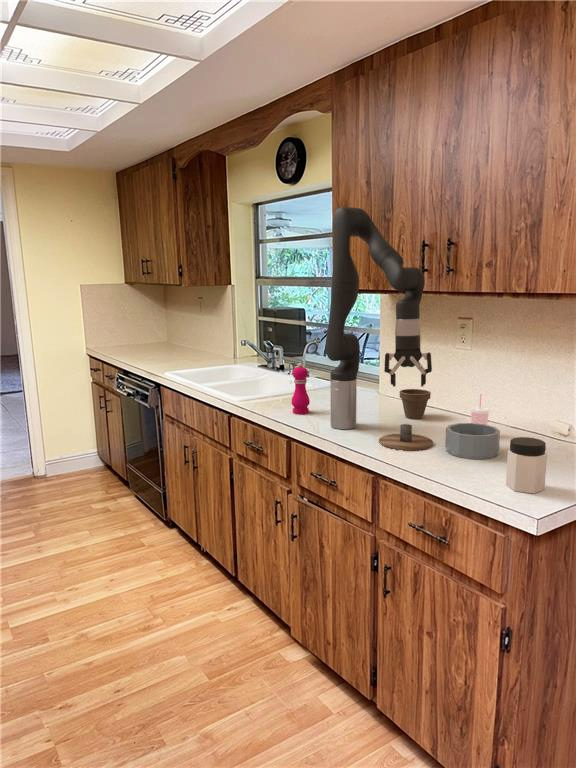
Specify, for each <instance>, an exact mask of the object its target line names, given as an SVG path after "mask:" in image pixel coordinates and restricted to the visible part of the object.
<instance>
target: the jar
mask: <svg viewBox="0 0 576 768" xmlns="http://www.w3.org/2000/svg"><path fill="white" fill-rule="evenodd" d="M509 440H510V441H509V449H508V450H507V461H506V479H505V485H506V486H507V487H509V489H511V490H512V491H513V492H517V493H518V492H519V493H525V494H536V493H539V492H542V491H545V488H546V487H545V486H546V473H547V459H548V453H546V449H547V448H546V447H547V445H546V442H545V441H544V440H542V439H539V438H535V437H527V436H517V437H513V438H511V439H509Z"/></svg>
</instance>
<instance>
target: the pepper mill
mask: <svg viewBox="0 0 576 768" xmlns="http://www.w3.org/2000/svg"><path fill="white" fill-rule="evenodd" d="M308 374H309V372H308V369H307V368H305V366H303V363H301V362H299V363H298V364H297V367H294V368H293V370H292V377H293V378H294V379H293V383H294V392H293V394H292V397H291V405H292V406H293V408H292V414H294V415H307V414H309V409H310V408H309V407H308V406H309V405H310V403H311V399H310V397H309V394H308V392H307V388H306V386H307V385H306V383H307V377H308V376H309V375H308Z"/></svg>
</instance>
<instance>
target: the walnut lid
mask: <svg viewBox="0 0 576 768" xmlns="http://www.w3.org/2000/svg"><path fill="white" fill-rule="evenodd" d="M399 426H400V427H399V428H400V429H399V430H400V431H399V433H390V434H386V435H383V436H380V437H379V439H378V444H379V443H380V444H381V445H382V446H381V445H380V444H379V445H380V446H381V447H383V446H384V447H383V448H385V447H386V448H385V449H388V448H390V449H389V450H392V449H395V450H394V451H399V450H403V451H402V452H419V450H421V451H425V449H426V450H428V448H429V449H431V448H433V446H434V441H433V440H432V439H431V438H430V437H428V436H424V435H420V434H416V433H415V434H414V433H412V432H413V425H412V424H409V423H404V424H403V423H402V424H400V425H399Z"/></svg>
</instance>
